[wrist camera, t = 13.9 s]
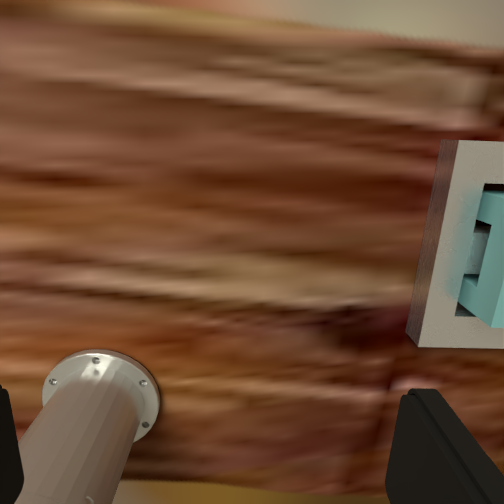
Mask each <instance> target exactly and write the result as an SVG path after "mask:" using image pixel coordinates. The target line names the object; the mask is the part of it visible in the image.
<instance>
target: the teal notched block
mask: <svg viewBox="0 0 504 504" xmlns="http://www.w3.org/2000/svg"><path fill="white" fill-rule="evenodd" d="M476 219H477V220H480V221H482V222H485V223H488V224H491V225H492V226H491V230H490V234H489V238H488V242H487V247H486V251H485V255H484V259H483V263H482V267H481V272H480V274H464V275H463V280H462V284H461V289H460V293H459V297H458V302H459V303H460V304H461V305H463V306H464V307H465V308H466V309H468V310H469V311H470V312H472V313H473V314H474V315H475V316H477V317H478V318H479V319H480V320H482V321H483V322H484V323H486V324H487V325H488V326H489V327H491V328H504V191H489V190H483V191H482V196H481V200H480V205H479V209H478V213H477V218H476Z"/></svg>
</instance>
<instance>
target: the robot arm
mask: <svg viewBox="0 0 504 504" xmlns="http://www.w3.org/2000/svg"><path fill="white" fill-rule="evenodd" d="M42 403H43V409H42V410H41V411H40V413H39V414H38V416H37V417H36V418H35V420H34V421H33V423H32V424H31V425H30V427H29V428H28V430H27V431H26V432H25V434H24V435H23V436H22V438H21V439H20V441H19V442H18V441H17V436H16V430H15V425H14V420H13V415H12V409H11V404H10V399H9V394H8V391H7V390H6V389H2V386H1V385H0V504H112V501H113V499H114V495H115V493H116V490H117V487H118V484H119V481H120V479H121V476H122V473H123V470H124V467H125V464H126V461H127V458H128V456H129V453H130V450H131V447H132V444H133V443H134V442H136V441H138V440H139V439H140V438H142V437H143V436H145V435H146V434H147V432H148V431H149V430H150V429H151V428H152V426H153V424H154V423H155V421H156V418H157V415H158V412H159V406H160V394H159V391H158V387H157V384H156V383H155V381H154V379H153V377H152V376H151V374H150V373H149V372H148V371H147V369H145V368H144V367H143V366H142V365H141V364H140V363H138V362H137V361H135V360H134V359H132V358H130V357H128V356H126V355H123V354H121V353H118V352H114V351H110V350H100V349H93V350H84V351H81V352H77V353H74V354H72V355H70V356H68V357H66V358H64V359H63V360H62V361H61V362H59V363H58V364H57V365H56V366H55V367H54V369H53V370H52V371H51V372H50V374H49V375H48V377H47V378H46V380H45V383H44V386H43V389H42ZM385 486H386V492H387V495H388V498H389V501H390V503H391V504H504V476H503V475H502V473H501V472H500V471H499V469H498V468H497V467H496V465H495V464H494V463H493V461H492V460H491V459H490V458H489V457H488V456H487V455H486V453H485V452H484V451H483V449H482V448H481V447H480V445H479V444H478V443H477V441H476V440H475V439H474V438H473V436H472V435H471V434H470V432H469V431H468V430H467V428H466V427H465V426H464V424H463V423H462V422H461V420H460V419H459V418H458V416H457V415H456V414H455V412H454V411H453V410H452V409H451V407H450V406H449V405H448V403H447V402H446V401H445V399H444V398H443V397H442V395H441V394H440V393H439V392H438V391H437V390H436V389H413V388H412V389H410V390H409V391H408V394H407V395H403V396H402V397H401V400H400V405H399V410H398V416H397V421H396V426H395V431H394V437H393V442H392V447H391V452H390V457H389V463H388V468H387V473H386V479H385Z"/></svg>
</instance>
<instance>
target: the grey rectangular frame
mask: <svg viewBox="0 0 504 504" xmlns="http://www.w3.org/2000/svg"><path fill="white" fill-rule="evenodd" d="M484 183H493V184H504V142H490V141H466V140H441V143H440V149H439V154H438V159H437V165H436V170H435V176H434V181H433V186H432V192H431V197H430V203H429V208H428V213H427V219H426V224H425V230H424V235H423V241H422V246H421V251H420V257H419V262H418V268H417V273H416V278H415V284H414V289H413V295H412V300H411V305H410V311H409V316H408V322H407V327H406V333H407V334H408V335H409V336H410V338H411V339H412V340H413V341H414V343H415V344H416V345H417V346H418V347H448V348H499V349H504V328H491V327H489V326H488V325H487V324H486V323H484V322H483V321H482V320H480V319H479V318H478V317H477V316H475V315H474V314H473V313H472V312H470V311H469V310H468V309H466V308H465V307H464V306H463V305H461V304H457V302H458V297H459V293H460V289H461V284H462V280H463V275H464V274H480V272H481V267H482V263H483V259H484V255H485V251H486V247H487V242H488V238H489V234H490V230H491V226H475V222H476V218H477V213H478V209H479V205H480V200H481V196H482V191H483V187H484Z"/></svg>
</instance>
